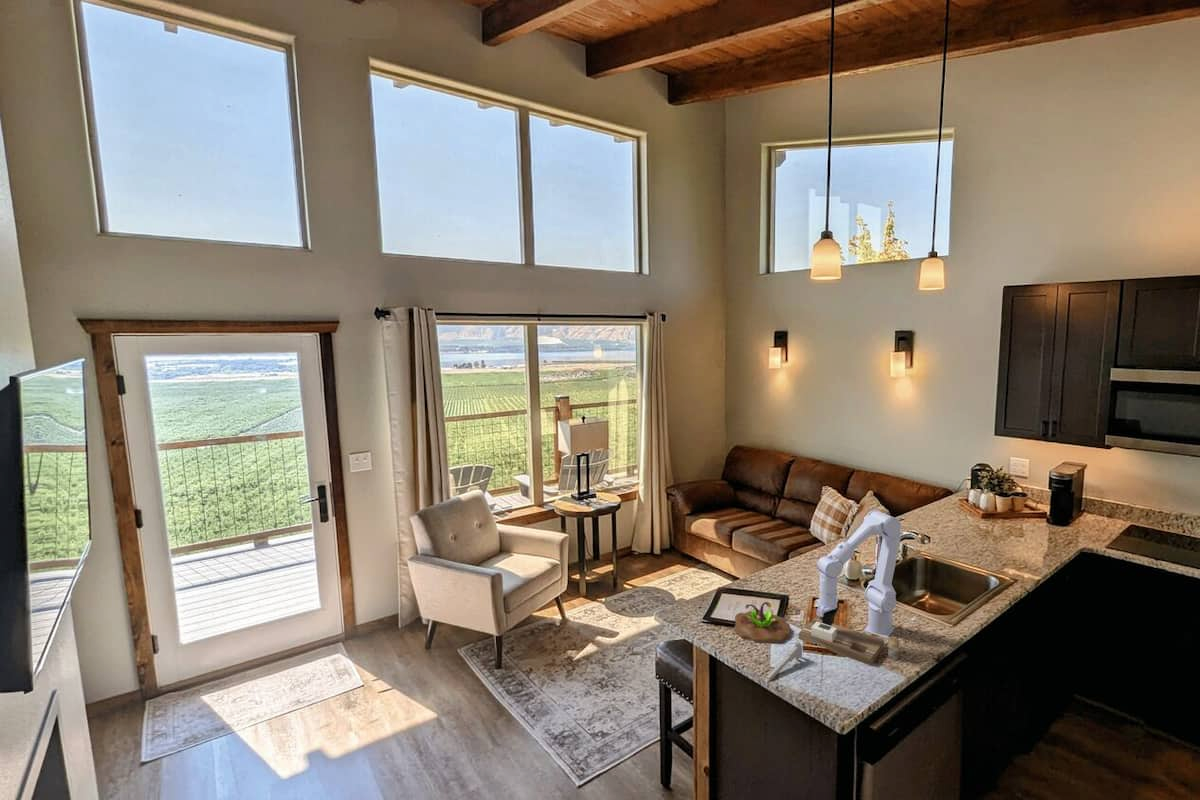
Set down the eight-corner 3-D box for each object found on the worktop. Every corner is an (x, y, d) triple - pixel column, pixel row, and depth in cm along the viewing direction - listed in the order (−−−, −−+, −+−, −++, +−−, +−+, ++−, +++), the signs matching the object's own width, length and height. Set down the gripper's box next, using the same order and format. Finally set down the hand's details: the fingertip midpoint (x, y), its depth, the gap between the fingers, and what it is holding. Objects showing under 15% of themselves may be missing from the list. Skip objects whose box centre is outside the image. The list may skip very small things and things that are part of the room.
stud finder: (816, 629, 201) (816, 620, 201) (836, 635, 197) (836, 626, 197) (811, 635, 198) (811, 626, 197) (831, 642, 193) (832, 632, 193)
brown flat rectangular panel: (814, 623, 210) (814, 617, 210) (884, 647, 194) (884, 640, 193) (798, 639, 200) (798, 632, 199) (870, 665, 183) (870, 658, 183)
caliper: (799, 657, 189) (799, 639, 188) (802, 658, 188) (802, 640, 187) (764, 682, 175) (764, 663, 175) (767, 683, 175) (767, 664, 174)
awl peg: (889, 653, 190) (890, 636, 190) (899, 656, 188) (900, 639, 187) (886, 657, 188) (887, 640, 187) (897, 661, 186) (897, 643, 185)
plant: (791, 649, 194) (791, 619, 193) (732, 642, 200) (732, 612, 199) (789, 620, 213) (789, 592, 212) (735, 614, 219) (735, 587, 218)
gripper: (824, 581, 206) (823, 616, 208) (808, 595, 196) (807, 632, 197) (844, 586, 202) (843, 622, 203) (828, 601, 191) (827, 639, 193)
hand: (827, 627), depth 200 cm, fingers closed
